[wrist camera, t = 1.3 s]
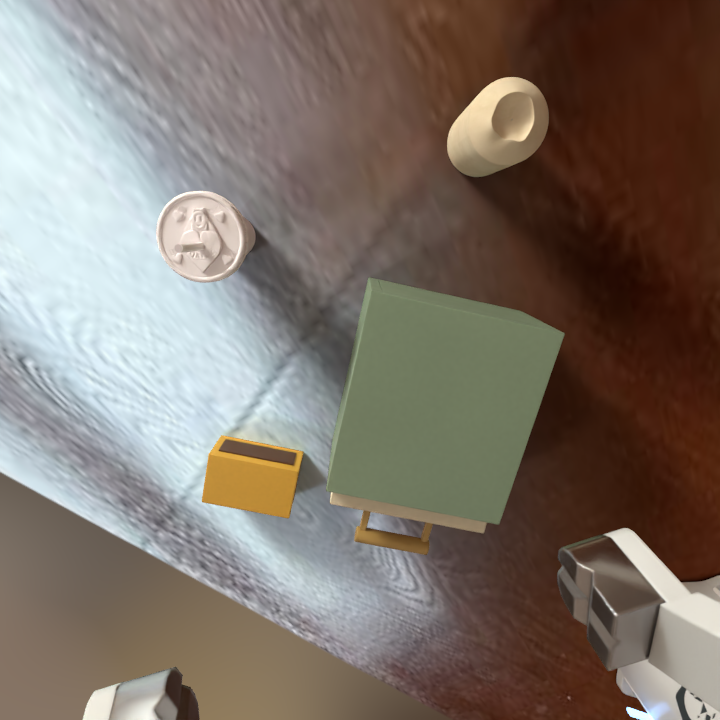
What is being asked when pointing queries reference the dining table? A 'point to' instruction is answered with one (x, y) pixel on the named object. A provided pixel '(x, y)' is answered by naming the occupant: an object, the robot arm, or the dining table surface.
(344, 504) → the drawer
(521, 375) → the cabinet
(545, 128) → the candle
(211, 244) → the smoothie
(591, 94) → the dining table surface
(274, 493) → the matchbox
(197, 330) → the dining table surface
